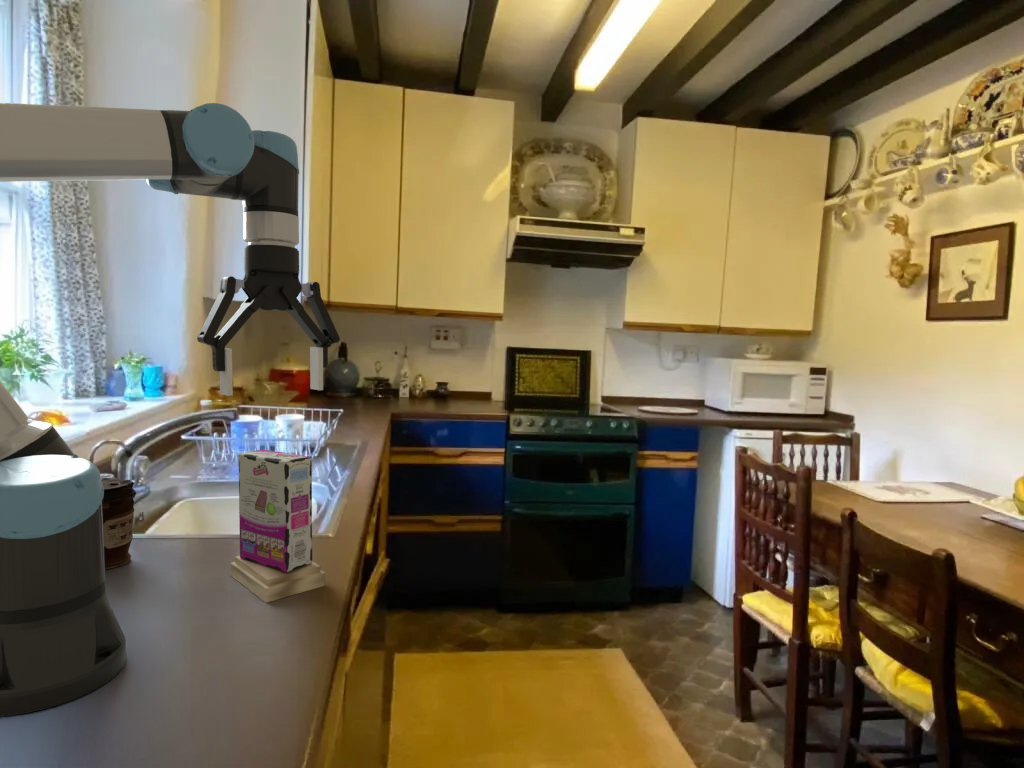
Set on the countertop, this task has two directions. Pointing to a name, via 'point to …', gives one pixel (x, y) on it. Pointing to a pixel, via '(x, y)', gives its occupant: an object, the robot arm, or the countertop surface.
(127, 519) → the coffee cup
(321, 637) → the countertop surface
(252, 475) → the candy bar box
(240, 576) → the plinth
